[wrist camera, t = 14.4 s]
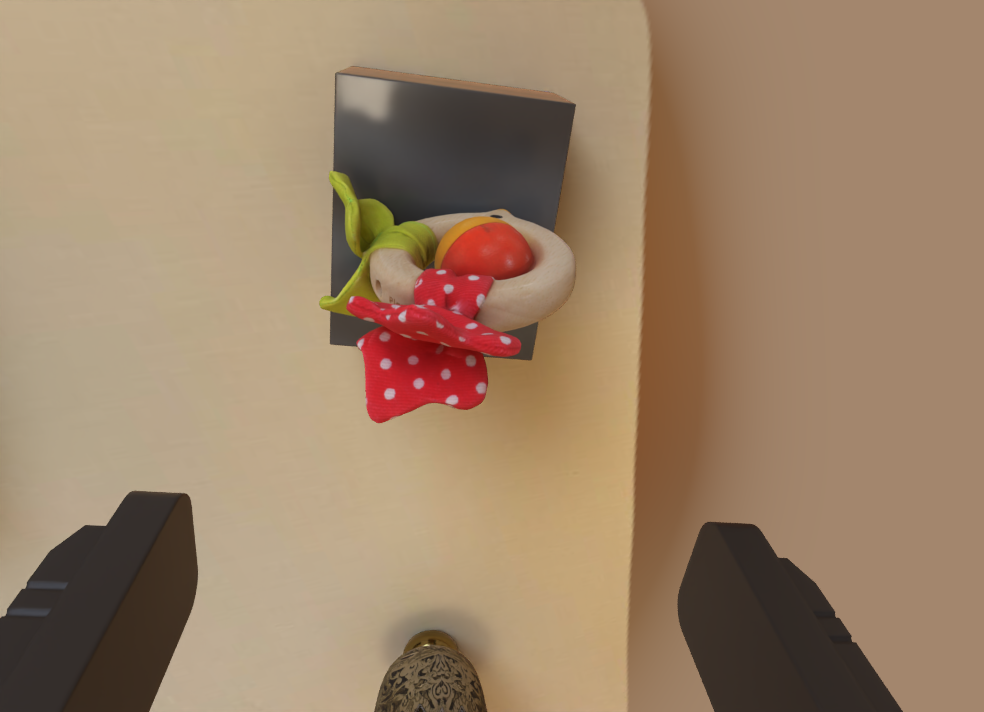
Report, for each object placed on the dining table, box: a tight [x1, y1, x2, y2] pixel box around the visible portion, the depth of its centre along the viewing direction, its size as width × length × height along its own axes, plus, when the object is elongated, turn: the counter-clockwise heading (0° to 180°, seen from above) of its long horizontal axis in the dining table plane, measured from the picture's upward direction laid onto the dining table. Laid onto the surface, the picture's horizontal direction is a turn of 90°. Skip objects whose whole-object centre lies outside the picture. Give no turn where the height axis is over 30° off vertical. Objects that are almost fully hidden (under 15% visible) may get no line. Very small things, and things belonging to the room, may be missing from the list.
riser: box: [330, 66, 576, 360], centre depth 29 cm, size 11×9×5 cm
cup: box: [374, 630, 487, 712], centre depth 41 cm, size 8×7×8 cm
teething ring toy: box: [319, 171, 576, 423], centre depth 22 cm, size 6×11×9 cm
